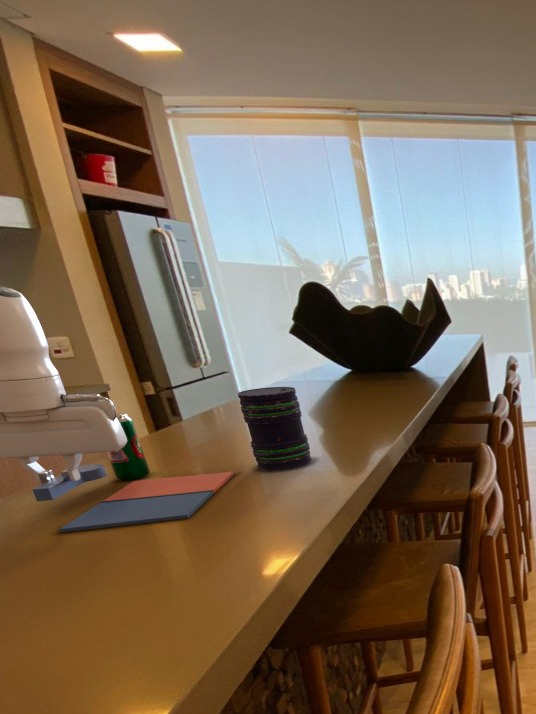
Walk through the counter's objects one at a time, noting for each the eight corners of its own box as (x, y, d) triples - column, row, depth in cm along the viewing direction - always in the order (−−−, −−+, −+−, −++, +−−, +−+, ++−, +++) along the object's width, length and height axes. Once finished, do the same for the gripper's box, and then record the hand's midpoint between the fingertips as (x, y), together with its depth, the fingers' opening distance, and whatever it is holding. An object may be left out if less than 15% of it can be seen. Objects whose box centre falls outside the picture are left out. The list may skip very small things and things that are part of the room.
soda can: (110, 480, 107) (86, 418, 103) (137, 472, 112) (116, 412, 107) (130, 482, 106) (107, 419, 101) (157, 474, 110) (136, 413, 106)
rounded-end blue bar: (76, 475, 100) (72, 464, 100) (112, 472, 102) (108, 461, 101) (24, 502, 87) (18, 490, 87) (65, 499, 89) (61, 487, 88)
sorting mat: (60, 532, 84) (58, 528, 84) (134, 484, 105) (133, 480, 105) (188, 518, 89) (186, 514, 88) (234, 474, 110) (233, 470, 109)
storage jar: (261, 474, 109) (239, 397, 104) (253, 463, 116) (233, 390, 111) (317, 464, 115) (300, 391, 109) (307, 454, 122) (291, 385, 116)
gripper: (119, 389, 93) (145, 470, 98) (-44, 396, 87) (-7, 481, 92) (99, 396, 87) (128, 481, 92) (-77, 403, 81) (-35, 493, 86)
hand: (59, 481), depth 92 cm, fingers closed on rounded-end blue bar, 2 cm apart
